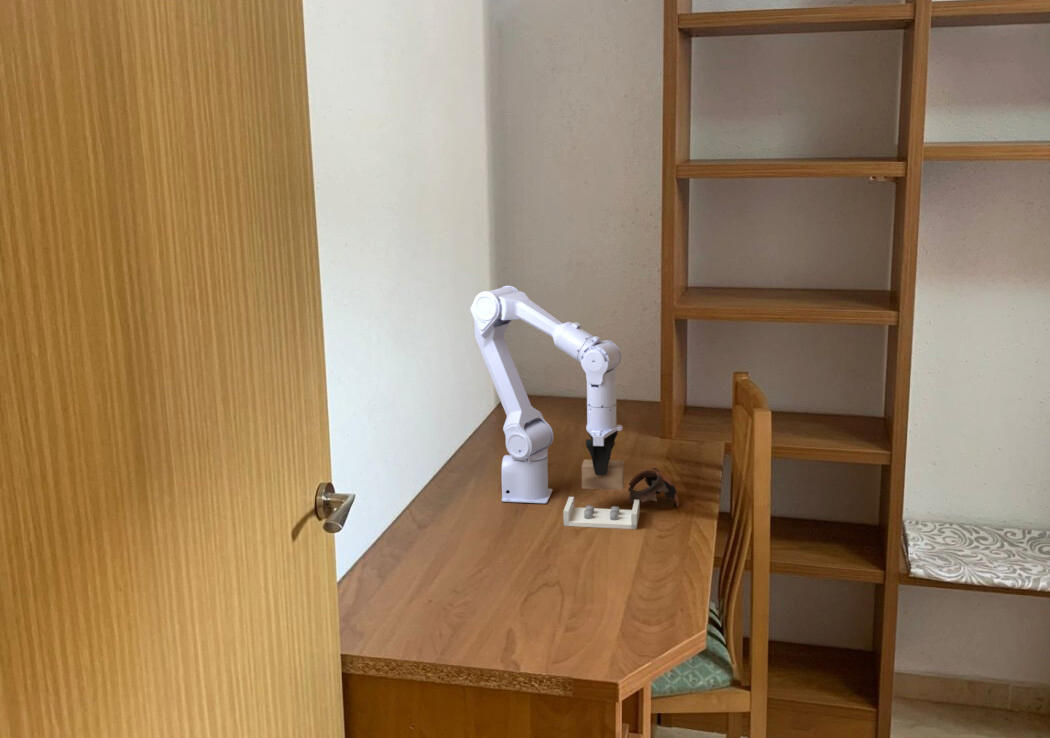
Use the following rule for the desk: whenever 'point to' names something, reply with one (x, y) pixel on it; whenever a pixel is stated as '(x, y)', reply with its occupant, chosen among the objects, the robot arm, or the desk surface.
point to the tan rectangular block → (603, 476)
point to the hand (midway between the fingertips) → (602, 470)
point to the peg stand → (600, 516)
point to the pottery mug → (652, 487)
